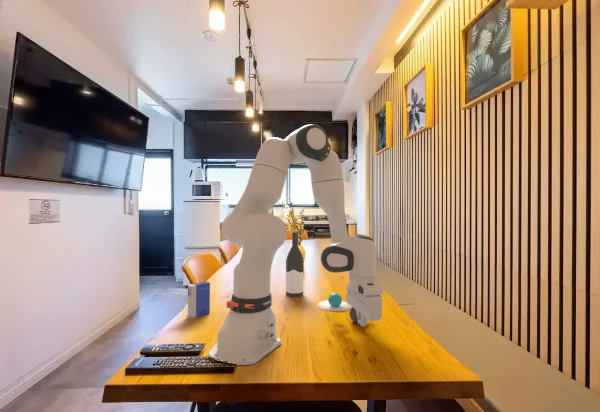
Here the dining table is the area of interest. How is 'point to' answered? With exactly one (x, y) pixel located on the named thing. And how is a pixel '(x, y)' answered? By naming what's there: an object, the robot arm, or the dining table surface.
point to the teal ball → (335, 300)
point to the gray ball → (353, 315)
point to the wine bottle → (294, 269)
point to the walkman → (198, 299)
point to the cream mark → (328, 307)
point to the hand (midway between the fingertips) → (361, 324)
